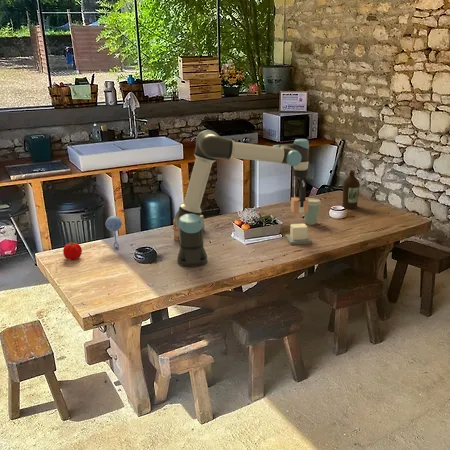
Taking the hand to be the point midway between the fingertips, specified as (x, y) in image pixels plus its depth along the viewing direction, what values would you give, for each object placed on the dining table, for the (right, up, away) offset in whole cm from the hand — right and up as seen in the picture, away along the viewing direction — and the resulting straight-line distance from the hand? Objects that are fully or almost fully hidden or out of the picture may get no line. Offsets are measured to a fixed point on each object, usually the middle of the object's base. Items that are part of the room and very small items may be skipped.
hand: (299, 210), depth 269 cm
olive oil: (+42, +4, +60) cm, 73 cm away
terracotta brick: (0, 0, 0) cm, 0 cm away
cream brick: (0, -15, +5) cm, 16 cm away
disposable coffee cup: (+12, -7, +32) cm, 35 cm away
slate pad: (0, -16, +6) cm, 17 cm away
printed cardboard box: (-61, -14, +17) cm, 65 cm away
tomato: (-119, -25, -12) cm, 123 cm away
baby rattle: (-100, -20, 0) cm, 102 cm away
